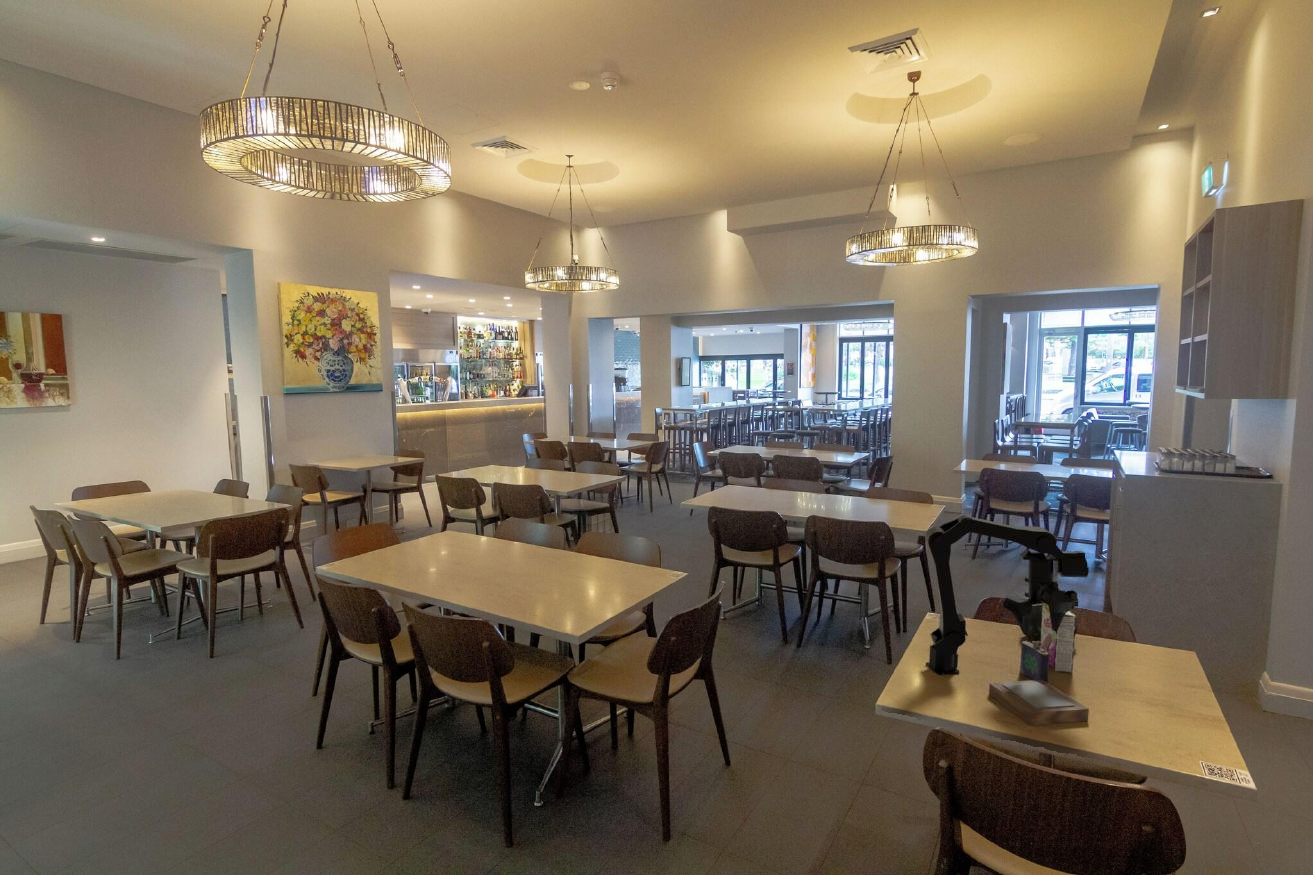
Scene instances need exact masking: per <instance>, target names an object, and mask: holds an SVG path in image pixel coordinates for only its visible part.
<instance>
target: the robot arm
mask: <svg viewBox="0 0 1313 875" xmlns="http://www.w3.org/2000/svg"><path fill="white" fill-rule="evenodd" d="M969 533H971V534H972V533H973V534H978V535H981V536H985V537H991V538H995V539H1000V540H1004V541H1008V542H1011V543H1012V542H1013V543H1016V544H1018V545H1021V546H1024V547H1025V548H1026V549H1025V550H1024V551H1023V552H1022V553H1019V557H1020V558H1021V559H1022V560H1023V561H1028V571H1027V572H1028V576H1026V577H1024V582H1027V583H1028V584H1027V586H1028V591H1026V592H1025V591H1024V597H1026V598H1022V597H1021V596H1018V595H1014V596H1006V597H1005V598H1004V599H1003V601H1002V602H1003V603H1002V606H1003V608H1005V609H1006V610H1007V611H1009V612H1011V613H1012V615H1013V617H1014V619H1015V620H1016V622H1017V624H1018V627H1019V628H1020V630H1021V632H1022V634H1023V636H1026V637H1028V631H1029V617H1030V616H1031V615H1033V614H1032V613H1030V612H1031V610H1032V606H1040V605H1048V606H1049V612H1050V618H1051V625H1052V629H1053V631H1055V632H1057V631H1058V628H1059V626H1060V624H1061V622H1062V619H1063V617H1064V615H1065V614H1066V613H1067V612H1068V611H1070V610H1071V611H1072V610H1074V609H1075V607H1079V599H1078V593H1077V592H1076V591H1075V590H1074V589H1070V590H1060V588H1059V583H1058V581H1056V580H1054V572H1055V574H1058V575H1059V576H1060V577H1062V578H1080V579H1081V578H1084V579H1085V578H1088V576H1089V572H1090V567H1089V564H1088V561H1087V560H1088V559H1087V558H1086V552H1084V551H1082V550H1073V551H1071V550H1067V551H1066V550H1062V549H1061V548H1060V547H1058V545H1057V538H1056V537H1055V535H1054V534H1053V533H1051V532H1050V531H1049V530H1047V529H1046V528H1044V527H1041V526H1029V525H1028V526H1027V525H1025V526H1014V525H1009V524H1005V523H999V522H996V521H990V520H987V519H981V518H976V517H973V516H970V515H967V514H963V515H961V516H958V517H957V518H955V519H953V520H950V521H947V522H945V523H942V524H941V525H939V526H933V527H930V528H928V530H927V531H925V533H924V534H925V535H924V538H925V541H926V545H927V548H928V550H929V553H930V555H931V558H932V561H933V566H934V573H935V579H936V585H937V594H938V597H939V604H940V613H939V621H938V622H939V625H938V626H939V627H938V628H936V629H935V630H933V631H932V632H931V633H930V636H931V637H930V638H931V640H932V643H933V644H932V645H929V659H928V662H925V665H926V666H927V667H928V668H929V669H931V670H932V671H933V672H935V674H937V675H948V674H950V675H951V674H960V670H959V669H958V665H959V662H958V661H959V653H958V649H959V647H960V646H962V645H963V644H964V643H966V640H967V638H966V637H968V636H969V634H968V632H967V631H966V628H967V626H966V623H967V622H966V619H965V618H964V616H963V614H962V613H958V612H957V605H956V599H955V598H956V597H955V593H954V586H953V581H952V580H953V579H952V574H951V565H950V558H951V554H952V553H951V552H952V545H953V544H955V543H956V542H958V541H960V540H961V539H962V538H964V536H966V535H967V534H969ZM1030 550H1032V551H1035V552H1032V551H1030ZM1045 554H1046V555H1045ZM1047 554H1049V555H1047ZM1027 598H1028V599H1027Z"/></svg>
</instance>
